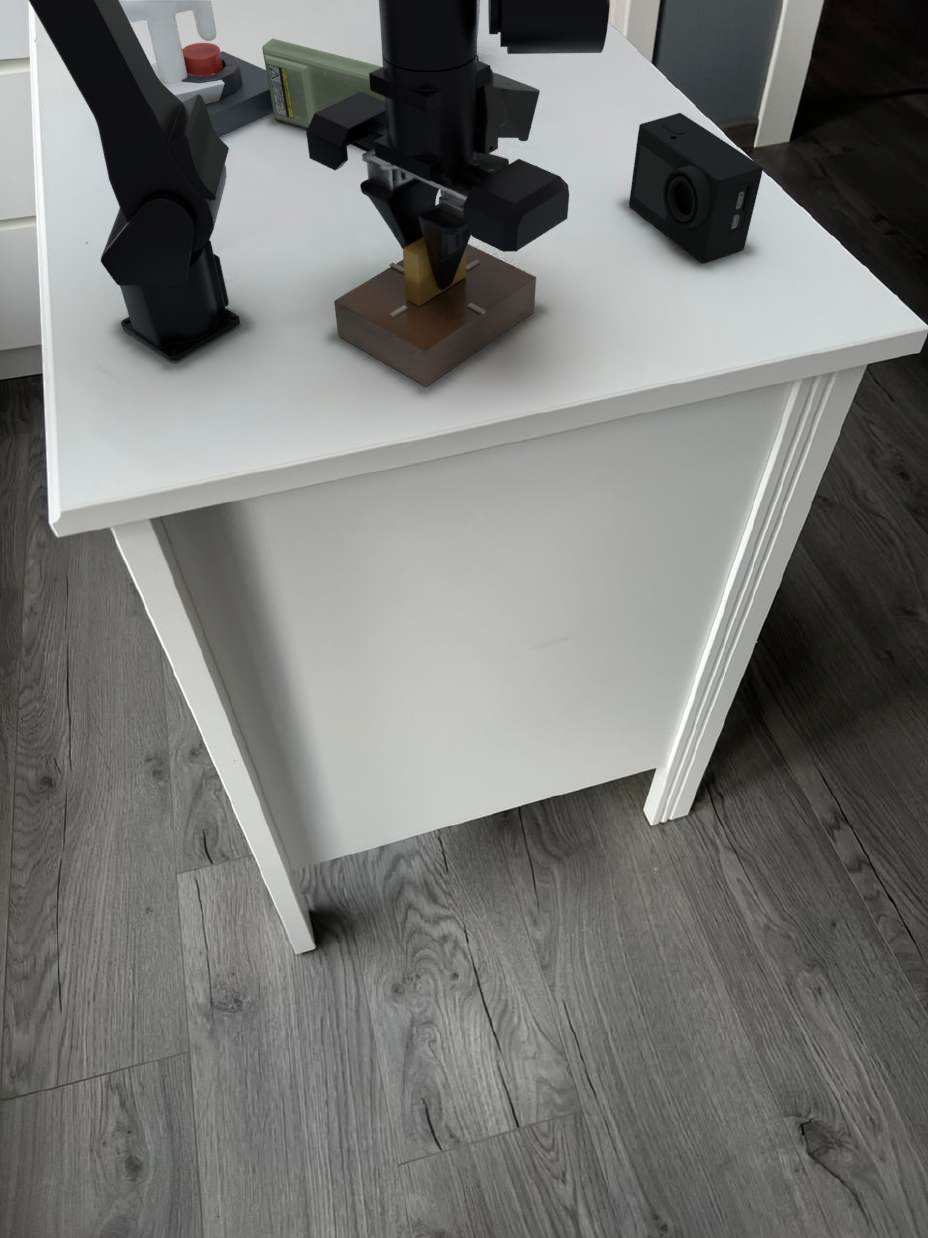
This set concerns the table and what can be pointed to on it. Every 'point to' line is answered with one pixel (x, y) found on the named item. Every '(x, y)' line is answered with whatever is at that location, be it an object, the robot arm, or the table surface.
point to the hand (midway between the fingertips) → (436, 282)
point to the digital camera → (694, 186)
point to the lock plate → (435, 316)
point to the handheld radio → (318, 83)
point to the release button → (202, 59)
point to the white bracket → (175, 42)
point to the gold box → (423, 273)
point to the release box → (237, 94)
